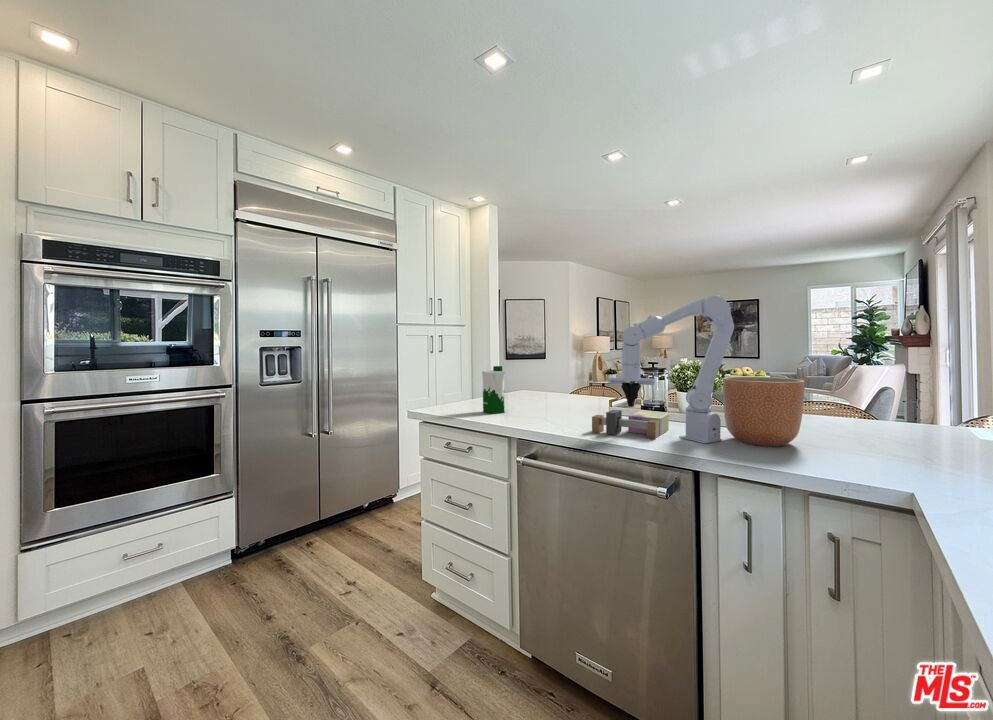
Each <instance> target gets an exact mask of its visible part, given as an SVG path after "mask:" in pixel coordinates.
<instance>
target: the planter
mask: <svg viewBox="0 0 993 720" xmlns="http://www.w3.org/2000/svg"><path fill="white" fill-rule="evenodd" d="M805 382H806V381H805V380H804V379H798V378H791V377H790V378H789V377H775V376H774V377H773V376H726V377H723V378H722V401H723V413H724V416H723V417H724V421H725V426H726V429H727V432H728V433H730V435H731V436H732V437H733V438H735V439H736V440H737V441H739V442H741V443H745V444H749V445H754V446H762V447H763V446H764V447H779V446H780V447H781V446H785V445H788V444H789V443H791V442H792V441H794V439H795V438H797V437H798V434H799V432H800V429H801V425H802V419H803V414H804V413H803V412H804V411H803V410H804V402H805V386H806V385H805V384H806V383H805Z"/></svg>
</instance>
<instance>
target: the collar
mask: <svg viewBox="0 0 993 720" xmlns="http://www.w3.org/2000/svg"><path fill="white" fill-rule="evenodd" d="M605 414H606V415H605V417H606V425H605V435H613V436H614V435H615V436H616V435H618V434H619V433H620V432H622V427H620V426H617V418H618V419H623V418H622V417H623V416H622V410H621V409H612V410H609V411H607V412H606V413H605Z"/></svg>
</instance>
